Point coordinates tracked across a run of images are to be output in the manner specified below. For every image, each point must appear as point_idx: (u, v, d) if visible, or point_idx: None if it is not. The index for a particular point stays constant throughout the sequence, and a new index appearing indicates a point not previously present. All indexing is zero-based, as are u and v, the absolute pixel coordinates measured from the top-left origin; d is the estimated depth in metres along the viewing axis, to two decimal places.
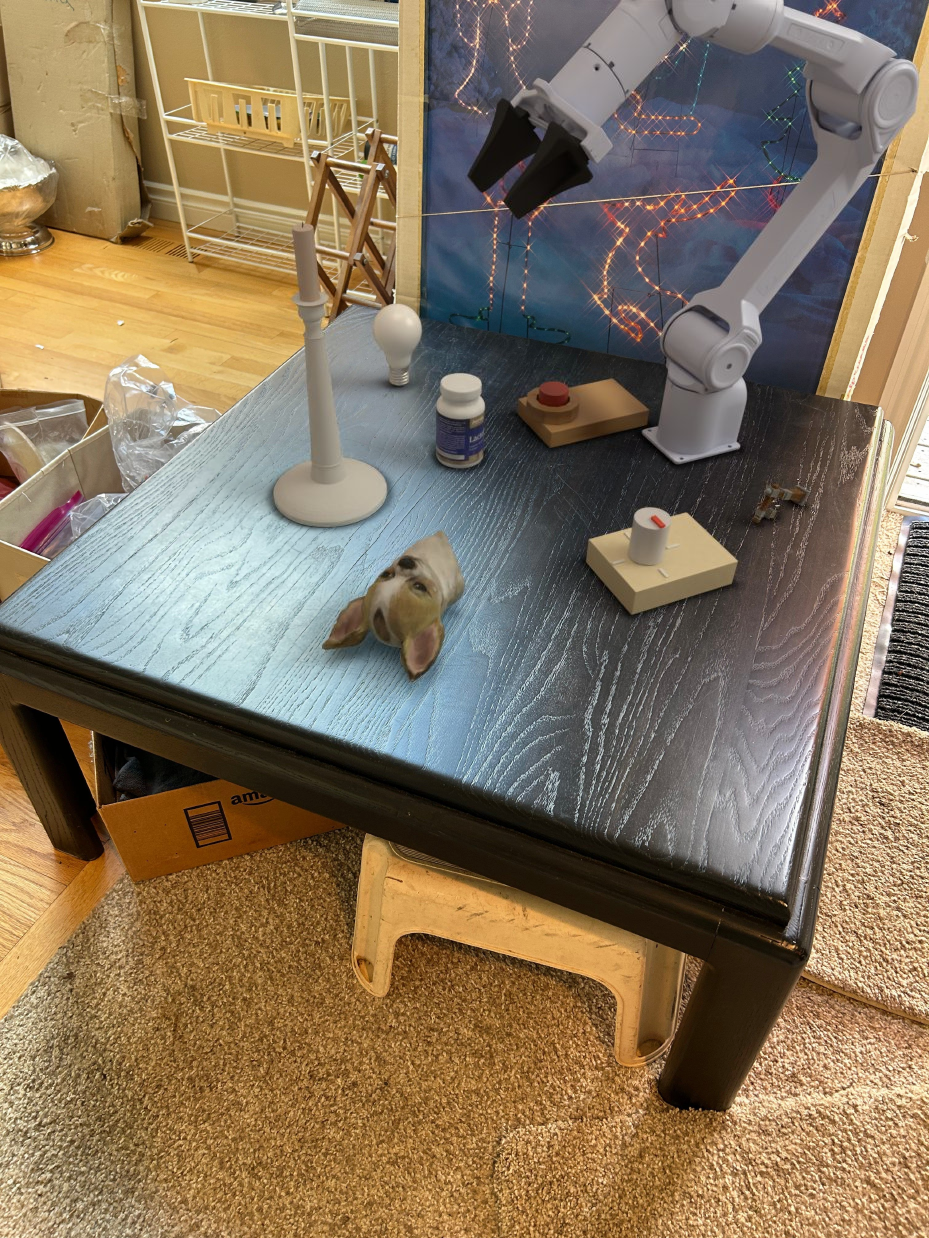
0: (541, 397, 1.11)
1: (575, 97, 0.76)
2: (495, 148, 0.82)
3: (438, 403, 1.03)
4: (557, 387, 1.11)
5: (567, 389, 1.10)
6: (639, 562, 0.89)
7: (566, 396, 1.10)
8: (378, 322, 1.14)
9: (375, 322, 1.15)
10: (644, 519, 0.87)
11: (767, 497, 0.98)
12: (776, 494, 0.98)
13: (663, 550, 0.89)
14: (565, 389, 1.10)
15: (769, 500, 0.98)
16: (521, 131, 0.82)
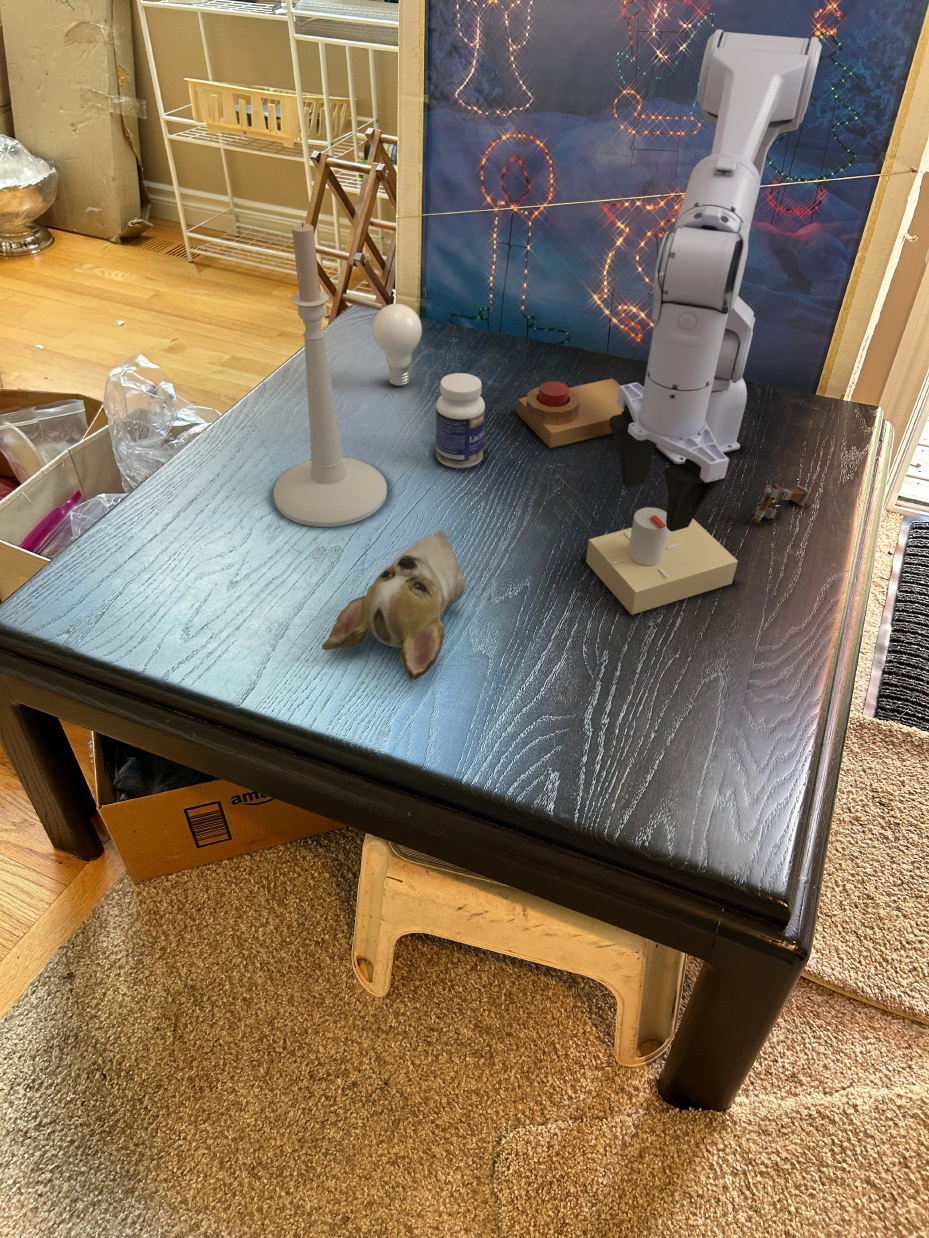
0: (541, 397, 1.11)
1: (670, 427, 0.77)
2: (631, 457, 0.86)
3: (438, 403, 1.03)
4: (557, 387, 1.11)
5: (567, 389, 1.10)
6: (639, 562, 0.89)
7: (566, 396, 1.10)
8: (378, 322, 1.14)
9: (375, 322, 1.15)
10: (644, 519, 0.87)
11: (767, 497, 0.98)
12: (776, 494, 0.98)
13: (663, 550, 0.89)
14: (565, 389, 1.10)
15: (769, 500, 0.98)
16: None
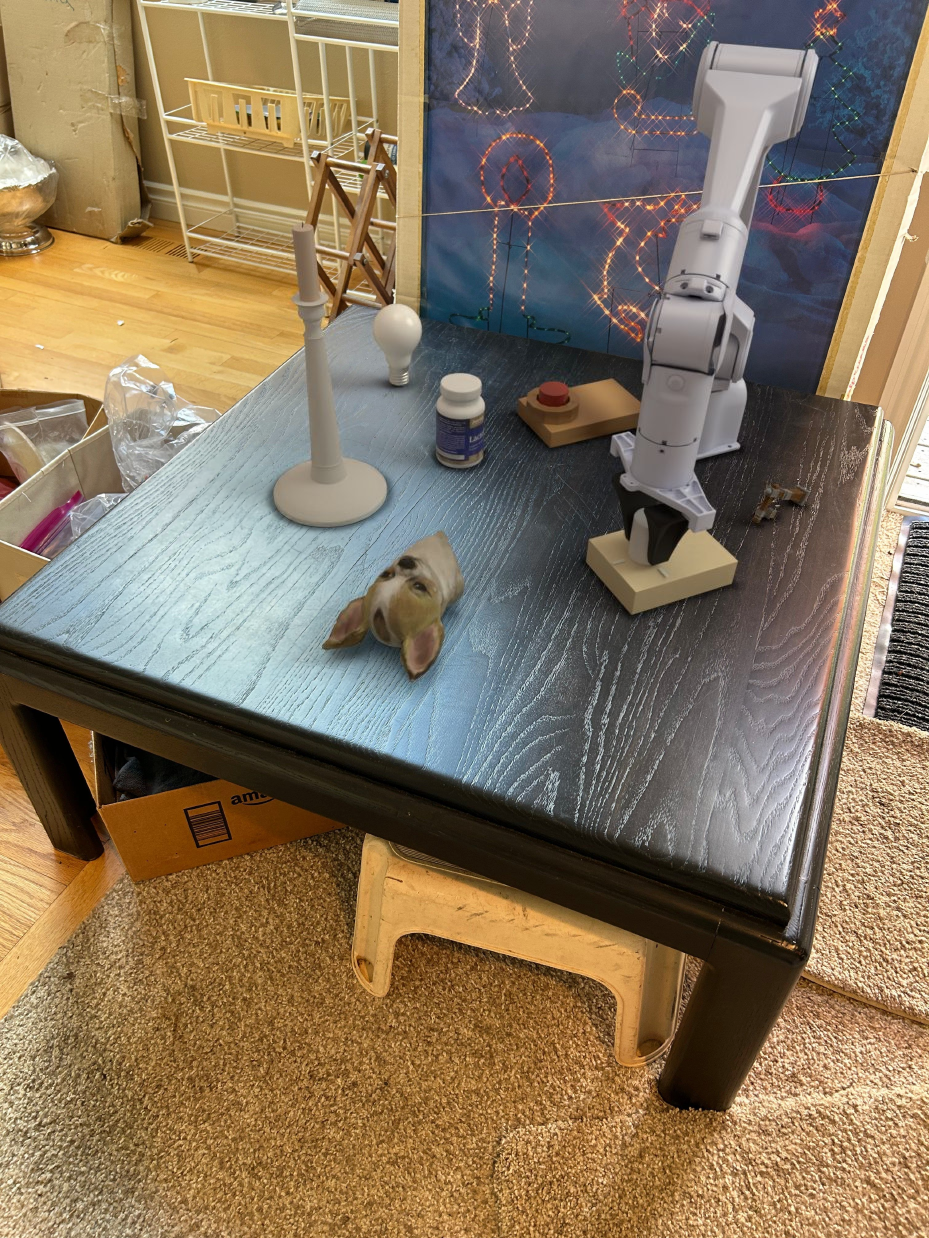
0: (541, 397, 1.11)
1: (660, 479, 0.81)
2: (633, 512, 0.89)
3: (438, 403, 1.03)
4: (557, 387, 1.11)
5: (567, 389, 1.10)
6: (639, 562, 0.89)
7: (566, 396, 1.10)
8: (378, 322, 1.14)
9: (375, 322, 1.15)
10: (644, 519, 0.87)
11: (767, 497, 0.98)
12: (776, 494, 0.98)
13: None
14: (565, 389, 1.10)
15: (769, 500, 0.98)
16: None
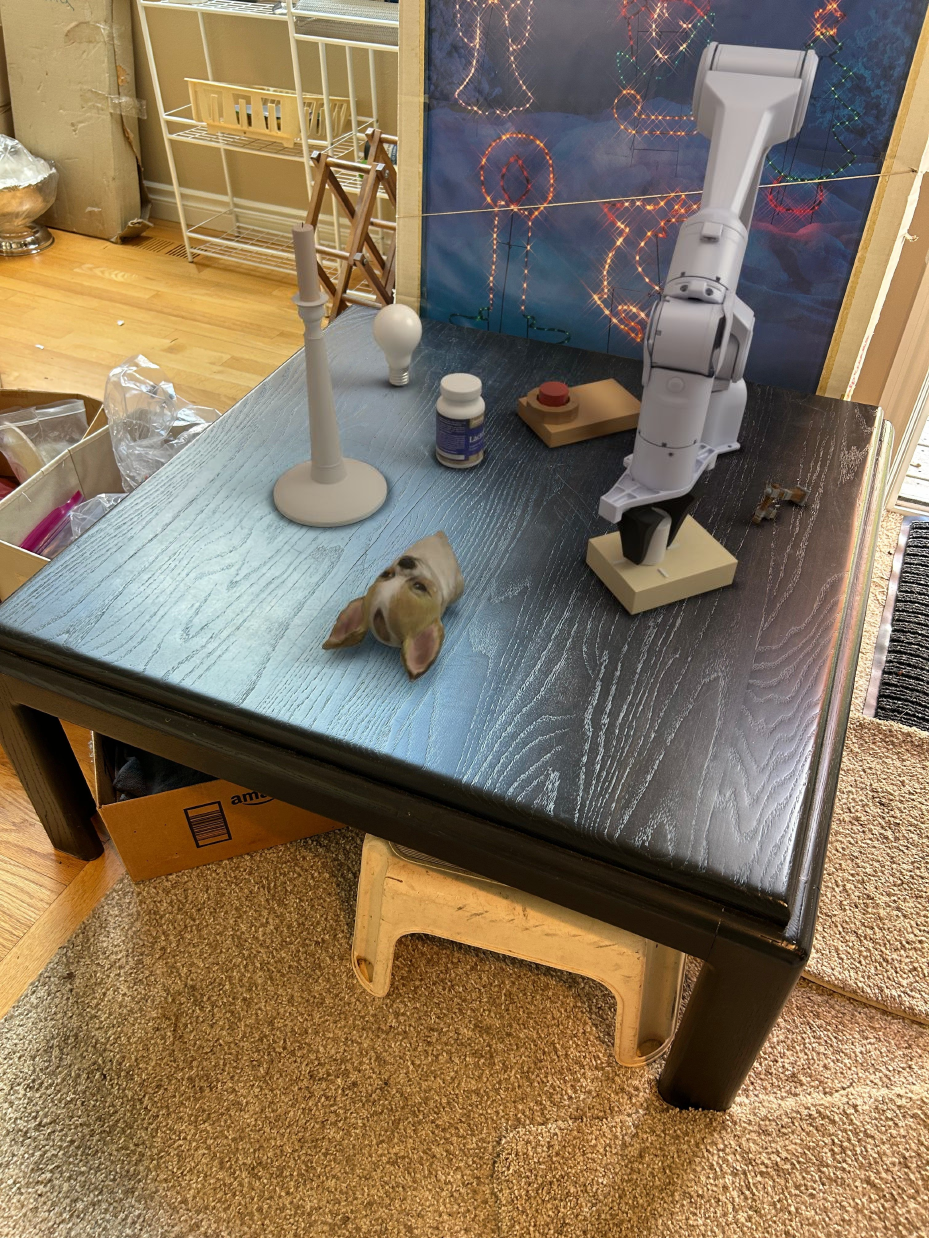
0: (541, 397, 1.11)
1: (632, 465, 0.83)
2: None
3: (438, 403, 1.03)
4: (557, 387, 1.11)
5: (567, 389, 1.10)
6: None
7: (566, 396, 1.10)
8: (378, 322, 1.14)
9: (375, 322, 1.15)
10: None
11: (767, 497, 0.98)
12: (776, 494, 0.98)
13: None
14: (565, 389, 1.10)
15: (769, 500, 0.98)
16: None
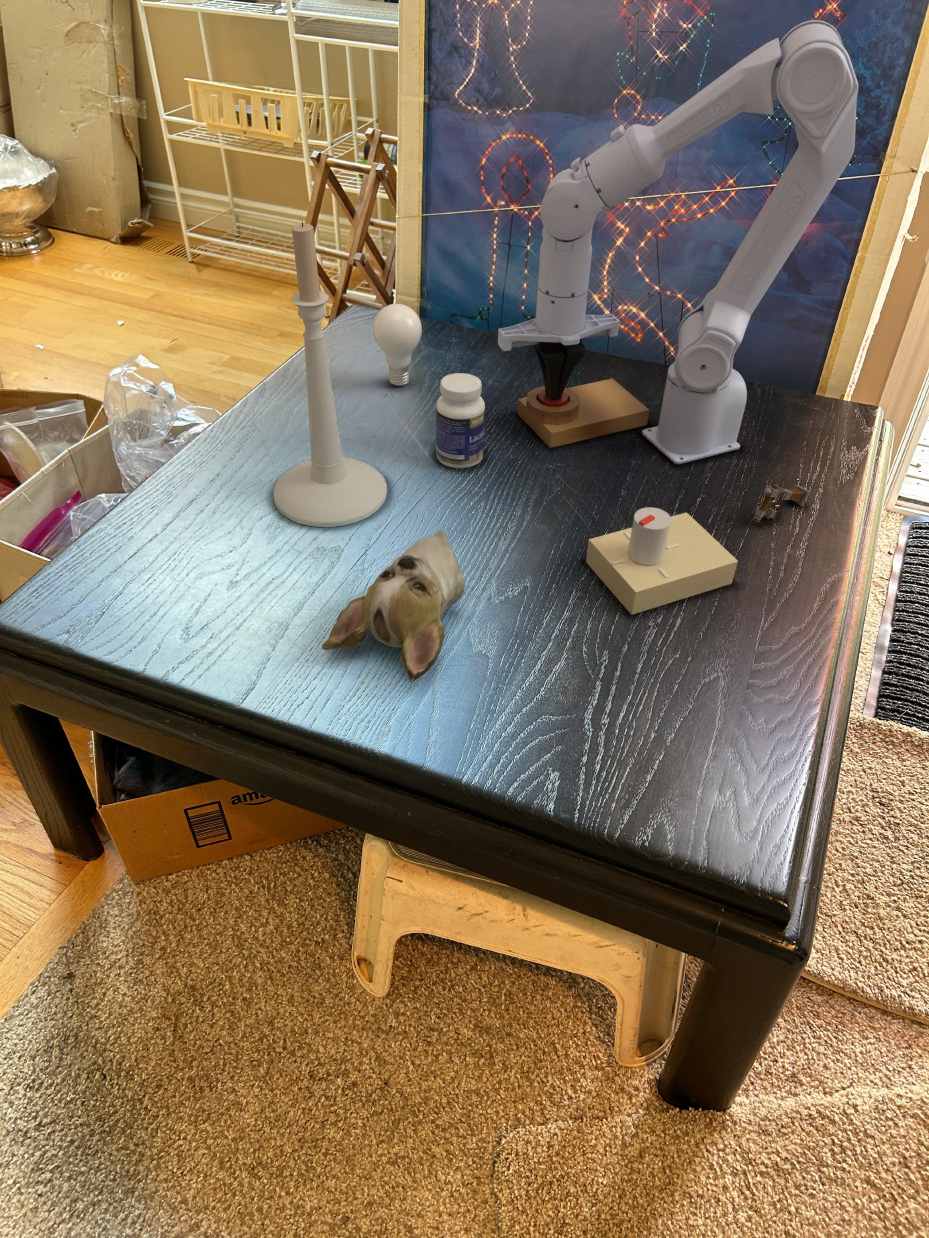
0: None
1: (583, 321, 1.04)
2: None
3: (438, 403, 1.03)
4: None
5: (566, 397, 1.11)
6: (628, 550, 0.91)
7: (565, 403, 1.11)
8: (378, 322, 1.14)
9: (375, 322, 1.15)
10: (646, 513, 0.88)
11: (767, 497, 0.98)
12: (776, 494, 0.98)
13: (642, 553, 0.88)
14: (564, 396, 1.11)
15: (769, 500, 0.98)
16: None
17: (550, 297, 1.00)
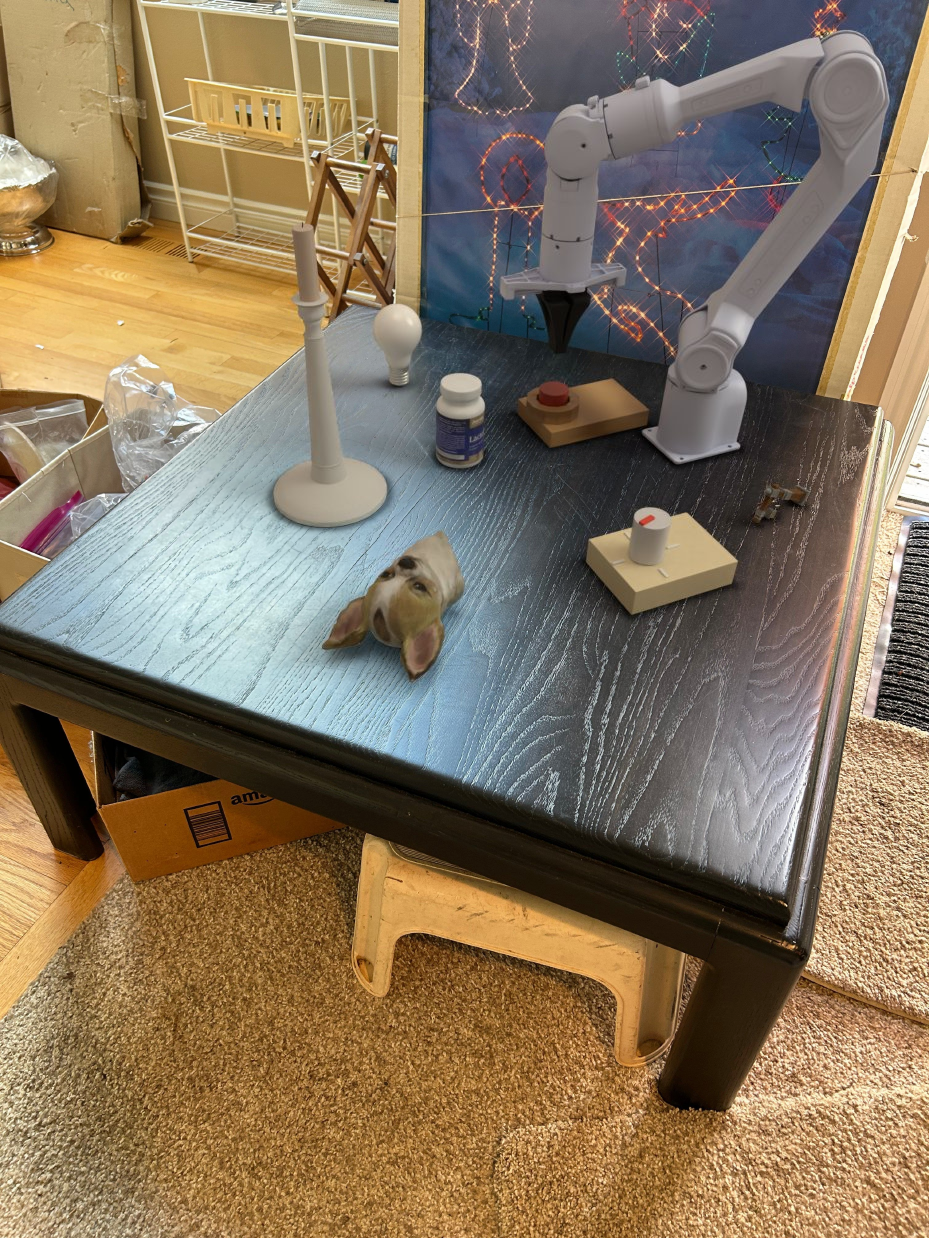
0: (541, 397, 1.11)
1: (589, 268, 1.00)
2: None
3: (438, 403, 1.03)
4: (557, 387, 1.11)
5: (567, 389, 1.10)
6: (628, 550, 0.91)
7: (566, 396, 1.10)
8: (378, 322, 1.14)
9: (375, 322, 1.15)
10: (646, 513, 0.88)
11: (767, 497, 0.98)
12: (776, 494, 0.98)
13: (642, 553, 0.88)
14: (565, 389, 1.10)
15: (769, 500, 0.98)
16: None
17: (554, 242, 0.96)
